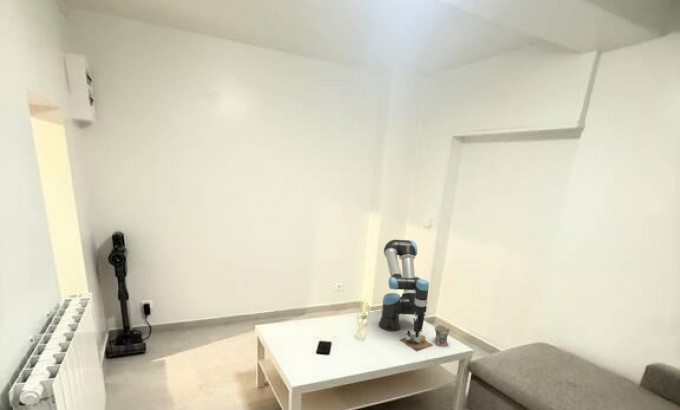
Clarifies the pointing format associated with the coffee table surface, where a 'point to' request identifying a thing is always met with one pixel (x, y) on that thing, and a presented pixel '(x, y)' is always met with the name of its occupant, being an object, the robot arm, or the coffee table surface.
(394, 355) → the coffee table surface
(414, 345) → the brown picture tile
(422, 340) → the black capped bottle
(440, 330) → the mug
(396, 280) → the robot arm
